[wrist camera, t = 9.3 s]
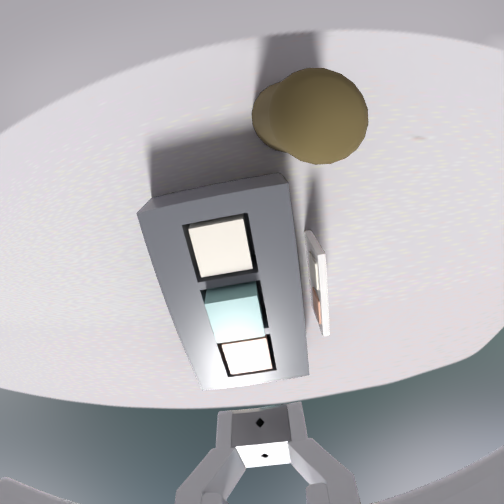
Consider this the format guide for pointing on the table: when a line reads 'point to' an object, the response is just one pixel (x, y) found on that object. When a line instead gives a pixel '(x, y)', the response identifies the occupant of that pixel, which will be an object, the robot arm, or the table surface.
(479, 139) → the table surface
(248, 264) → the cream key
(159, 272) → the keypad
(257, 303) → the teal key
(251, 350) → the terracotta key
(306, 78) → the cork
